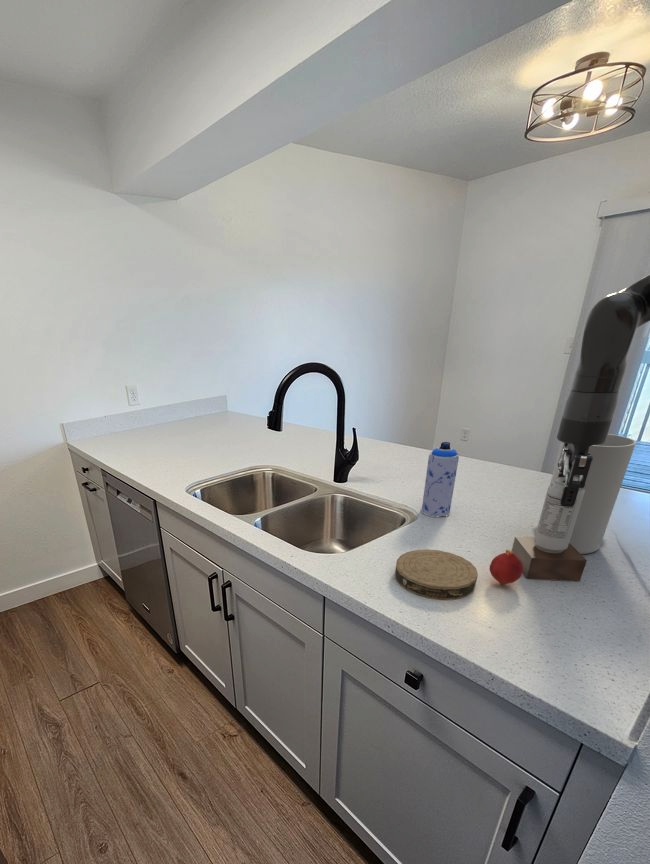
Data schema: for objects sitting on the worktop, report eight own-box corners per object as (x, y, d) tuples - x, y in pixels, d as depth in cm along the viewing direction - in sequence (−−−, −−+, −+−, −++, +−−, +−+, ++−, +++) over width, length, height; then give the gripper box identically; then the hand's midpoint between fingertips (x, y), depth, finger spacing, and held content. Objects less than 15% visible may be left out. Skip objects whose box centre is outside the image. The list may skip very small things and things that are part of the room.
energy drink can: (572, 549, 91) (593, 481, 85) (557, 557, 89) (578, 488, 82) (542, 539, 96) (559, 474, 89) (526, 546, 93) (544, 480, 87)
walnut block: (558, 558, 98) (564, 538, 96) (580, 581, 89) (587, 560, 87) (510, 556, 100) (514, 536, 98) (526, 578, 91) (531, 558, 89)
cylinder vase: (583, 560, 96) (619, 450, 85) (525, 541, 106) (551, 439, 95) (608, 544, 102) (646, 439, 91) (551, 527, 112) (579, 429, 100)
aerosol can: (432, 504, 129) (441, 437, 120) (456, 512, 123) (468, 442, 114) (414, 511, 126) (423, 442, 117) (439, 519, 120) (450, 448, 111)
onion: (505, 574, 93) (513, 541, 89) (525, 589, 88) (535, 554, 84) (480, 578, 92) (487, 545, 89) (499, 593, 87) (507, 558, 84)
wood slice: (430, 554, 103) (432, 543, 101) (492, 585, 90) (495, 572, 88) (379, 573, 96) (380, 561, 95) (437, 608, 84) (439, 596, 82)
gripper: (622, 424, 73) (593, 513, 80) (604, 409, 84) (580, 488, 91) (568, 423, 76) (545, 508, 83) (557, 408, 87) (538, 484, 95)
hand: (563, 497), depth 87 cm, fingers open, 8 cm apart
